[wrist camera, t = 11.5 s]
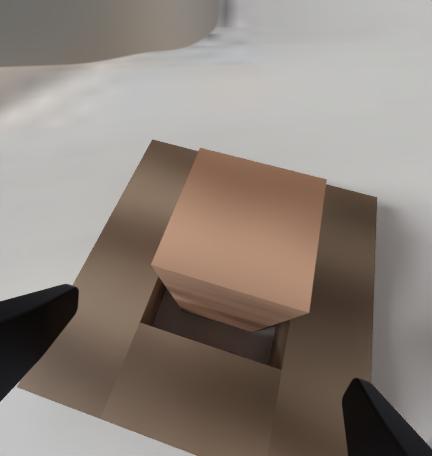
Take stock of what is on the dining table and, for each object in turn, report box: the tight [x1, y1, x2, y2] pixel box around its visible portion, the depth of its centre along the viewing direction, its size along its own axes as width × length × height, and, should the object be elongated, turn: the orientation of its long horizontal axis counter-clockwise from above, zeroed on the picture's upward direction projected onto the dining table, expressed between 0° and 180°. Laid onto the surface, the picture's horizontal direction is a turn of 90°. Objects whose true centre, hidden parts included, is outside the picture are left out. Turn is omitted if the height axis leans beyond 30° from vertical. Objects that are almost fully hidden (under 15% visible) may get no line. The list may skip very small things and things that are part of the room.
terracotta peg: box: [151, 148, 326, 332], centre depth 13 cm, size 5×5×10 cm
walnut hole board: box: [17, 140, 377, 456], centre depth 16 cm, size 16×16×3 cm
